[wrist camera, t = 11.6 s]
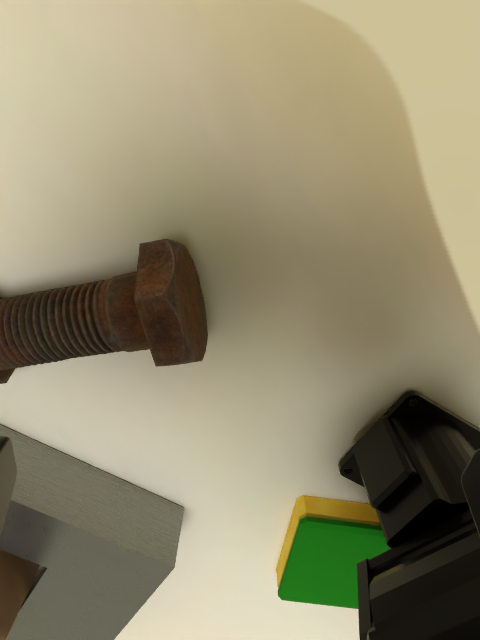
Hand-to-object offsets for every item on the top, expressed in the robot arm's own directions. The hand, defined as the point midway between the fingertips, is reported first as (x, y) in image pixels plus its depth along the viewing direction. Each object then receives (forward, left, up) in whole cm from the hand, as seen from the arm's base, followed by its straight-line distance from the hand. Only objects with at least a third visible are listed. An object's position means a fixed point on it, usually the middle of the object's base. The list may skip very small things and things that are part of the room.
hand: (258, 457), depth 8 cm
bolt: (+7, +7, -14) cm, 17 cm away
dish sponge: (-18, +12, -14) cm, 26 cm away
